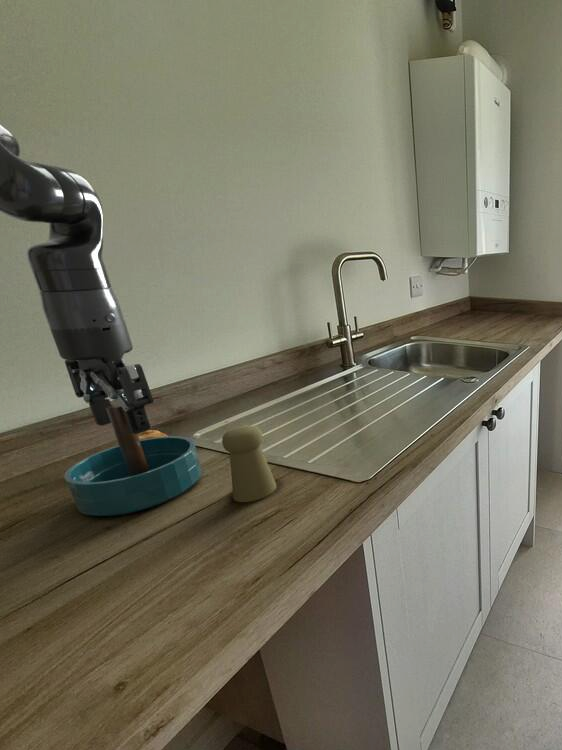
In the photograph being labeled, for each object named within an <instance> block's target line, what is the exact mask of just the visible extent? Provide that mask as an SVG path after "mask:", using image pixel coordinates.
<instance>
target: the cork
mask: <svg viewBox="0 0 562 750" xmlns="http://www.w3.org/2000/svg"><path fill="white" fill-rule="evenodd" d="M263 440H264V439H263V433H262V431H261V429H260V428H258V426H255V425H251V424H246V425H239V426H236V427H233V428H230V429H228V430H227V431H226V432H225V433H224V434H223V435H222V439H221V443H222V447H223V448H224V450H225V451H226V452H228V454H229V463H230V474H231V486H232V498H233V500H234V501H235V502H238V503H250V502H255V501H259V500H261V499H263V498H267V497H268V496H270V495H271V494H273V493H274V491H276V489H277V483H276V480H275V478H274V476H273V475H274V474H273V473H272V470H271V469H270V465H269V463H268V461H267V458H266V455H265V453H264V451H263V448H262V446H261V445H262V443H263Z"/></svg>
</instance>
